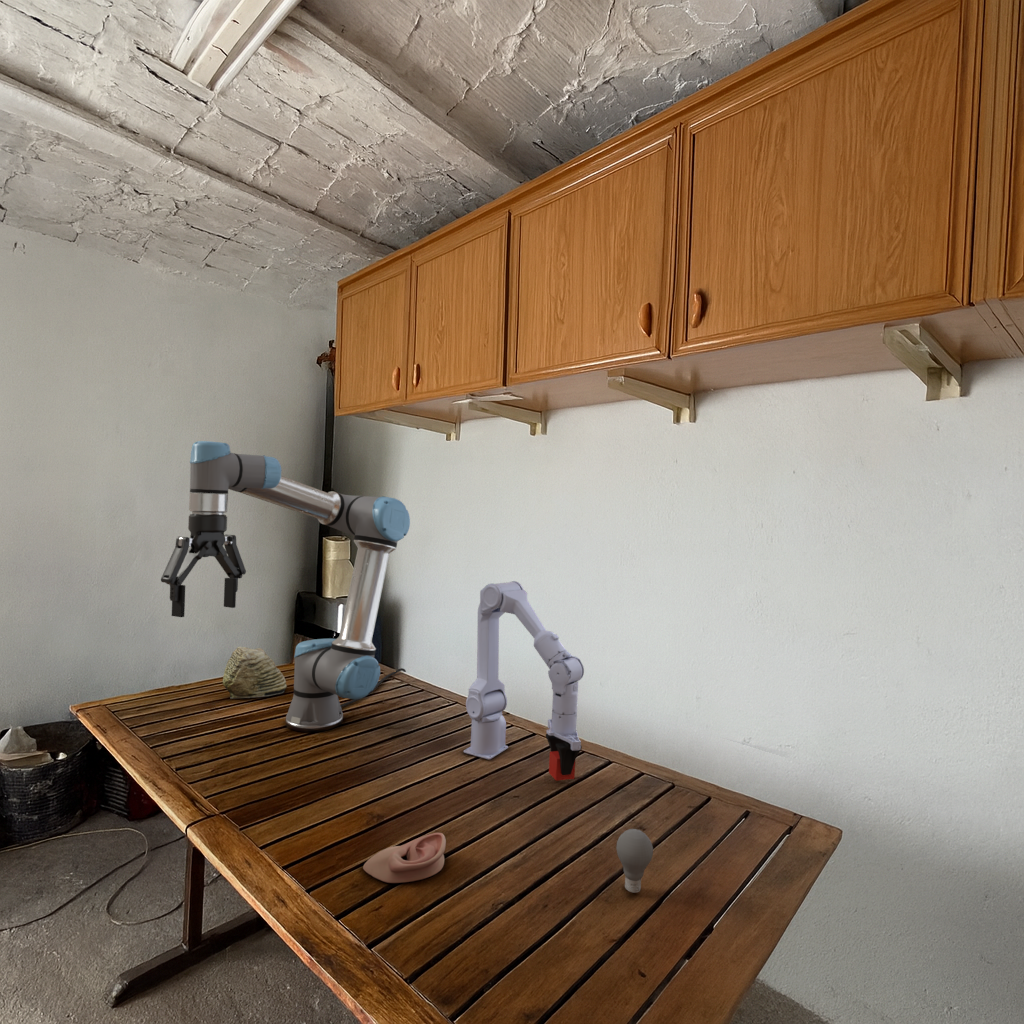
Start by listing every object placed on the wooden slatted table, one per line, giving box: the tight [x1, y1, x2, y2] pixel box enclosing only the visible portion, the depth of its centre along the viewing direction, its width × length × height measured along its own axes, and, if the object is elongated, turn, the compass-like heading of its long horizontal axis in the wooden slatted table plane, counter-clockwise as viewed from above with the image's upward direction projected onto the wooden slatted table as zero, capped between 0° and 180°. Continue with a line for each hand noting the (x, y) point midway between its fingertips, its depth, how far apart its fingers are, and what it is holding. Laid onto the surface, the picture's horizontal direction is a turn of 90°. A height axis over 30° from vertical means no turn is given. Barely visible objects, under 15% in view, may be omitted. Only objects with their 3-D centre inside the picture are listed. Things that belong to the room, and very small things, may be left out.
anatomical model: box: [362, 832, 447, 884], centre depth 110 cm, size 13×4×12 cm
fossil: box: [222, 646, 288, 699], centre depth 198 cm, size 9×18×15 cm, turn 132°
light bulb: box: [615, 828, 654, 894], centre depth 106 cm, size 6×6×10 cm
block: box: [548, 751, 576, 781], centre depth 145 cm, size 4×5×5 cm
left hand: (204, 611), depth 137 cm, fingers open, 13 cm apart
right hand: (561, 769), depth 145 cm, fingers closed on block, 4 cm apart
